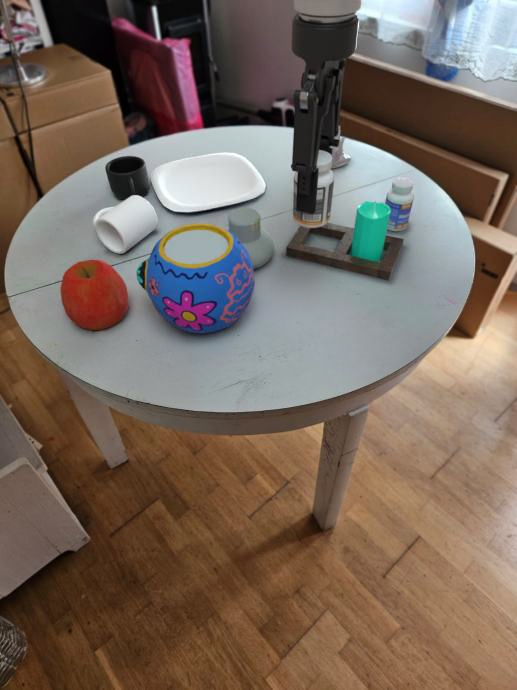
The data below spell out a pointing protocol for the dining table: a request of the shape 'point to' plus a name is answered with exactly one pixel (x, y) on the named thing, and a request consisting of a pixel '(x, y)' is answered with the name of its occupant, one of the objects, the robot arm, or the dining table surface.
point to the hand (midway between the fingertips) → (312, 199)
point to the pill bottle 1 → (322, 198)
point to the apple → (94, 295)
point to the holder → (344, 251)
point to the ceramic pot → (198, 277)
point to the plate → (206, 182)
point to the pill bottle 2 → (399, 203)
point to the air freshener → (251, 235)
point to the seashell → (339, 153)
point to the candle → (370, 230)
